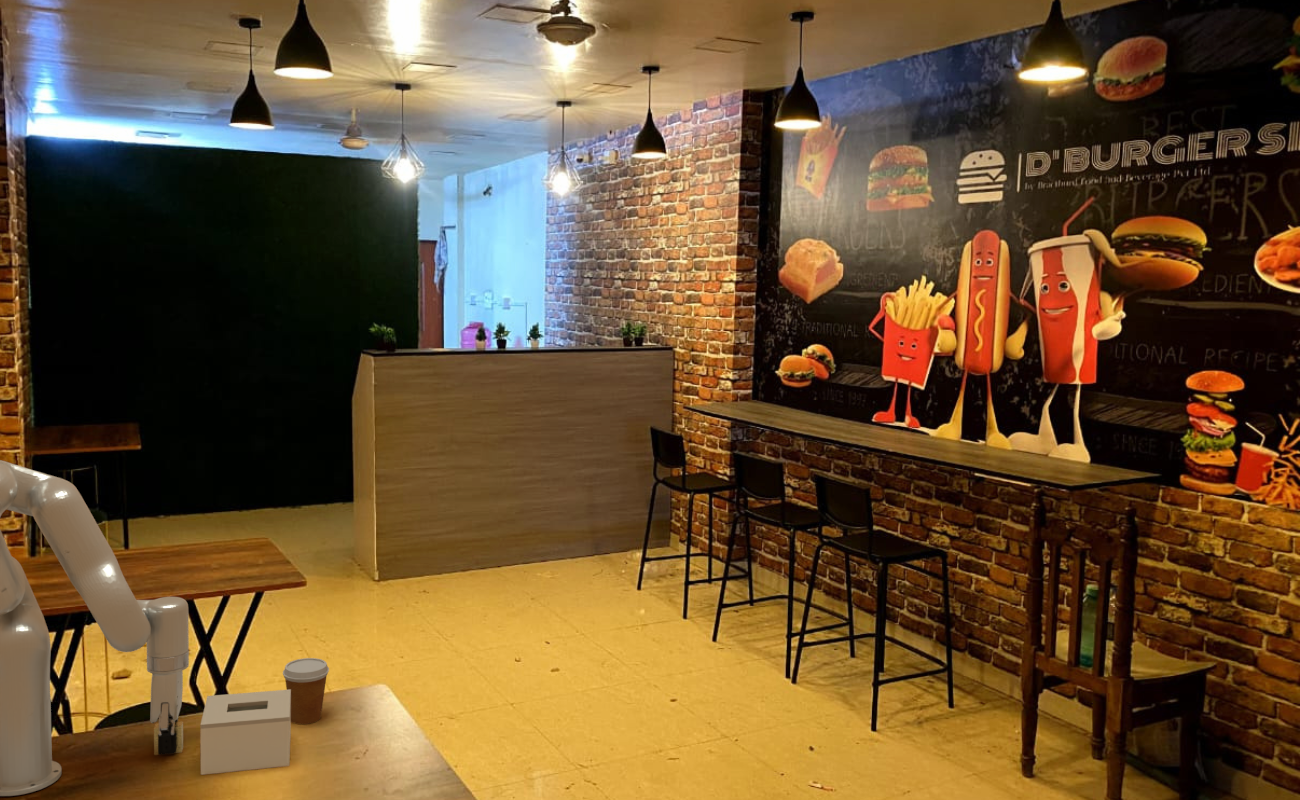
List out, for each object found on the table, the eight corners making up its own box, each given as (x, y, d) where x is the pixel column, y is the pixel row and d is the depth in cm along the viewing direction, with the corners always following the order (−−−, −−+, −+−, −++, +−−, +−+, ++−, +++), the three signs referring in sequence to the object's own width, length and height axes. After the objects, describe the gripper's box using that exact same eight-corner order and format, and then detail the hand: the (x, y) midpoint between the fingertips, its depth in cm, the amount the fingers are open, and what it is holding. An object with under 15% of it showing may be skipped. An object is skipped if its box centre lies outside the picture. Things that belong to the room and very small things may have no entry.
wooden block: (154, 755, 203) (153, 728, 202) (155, 749, 205) (155, 723, 204) (181, 752, 204) (181, 726, 204) (183, 747, 207) (182, 721, 206)
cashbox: (200, 774, 196) (200, 724, 194) (207, 742, 209) (207, 695, 208) (289, 765, 201) (289, 717, 199) (290, 735, 214) (290, 689, 213)
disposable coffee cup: (314, 730, 217) (314, 675, 215) (273, 724, 219) (273, 670, 217) (336, 712, 226) (337, 660, 225) (297, 707, 228) (297, 655, 226)
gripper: (153, 647, 209) (154, 732, 211) (140, 677, 194) (141, 769, 196) (193, 644, 211) (193, 729, 214) (183, 674, 196) (184, 765, 198)
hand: (168, 747), depth 205 cm, fingers open, 3 cm apart
